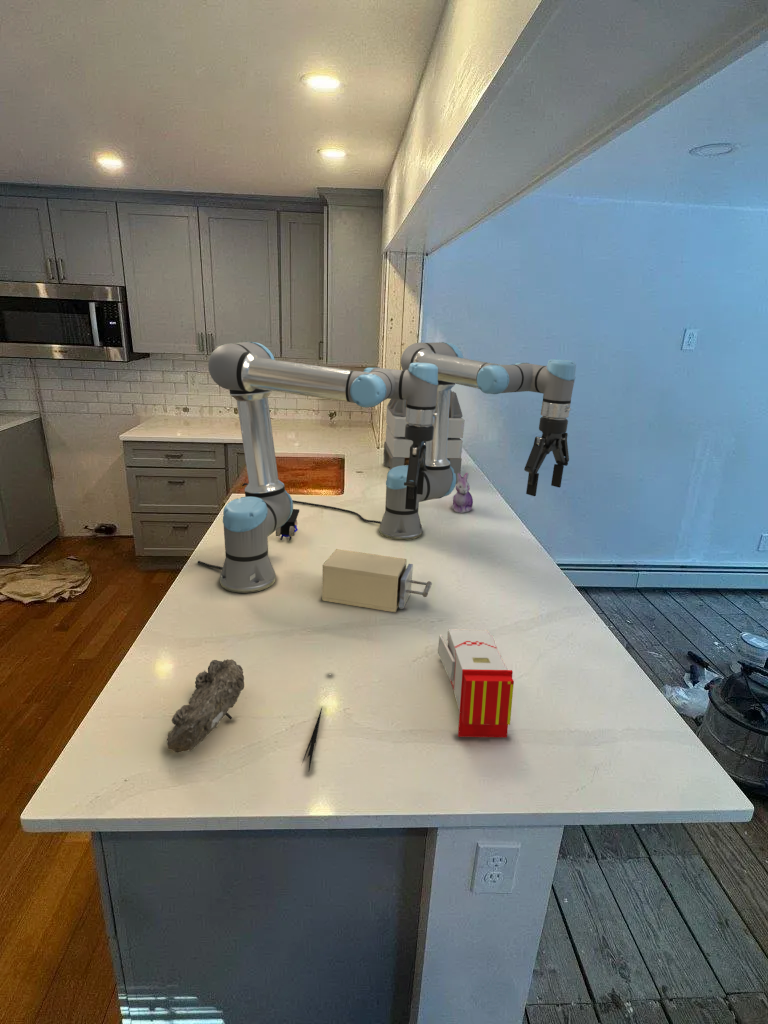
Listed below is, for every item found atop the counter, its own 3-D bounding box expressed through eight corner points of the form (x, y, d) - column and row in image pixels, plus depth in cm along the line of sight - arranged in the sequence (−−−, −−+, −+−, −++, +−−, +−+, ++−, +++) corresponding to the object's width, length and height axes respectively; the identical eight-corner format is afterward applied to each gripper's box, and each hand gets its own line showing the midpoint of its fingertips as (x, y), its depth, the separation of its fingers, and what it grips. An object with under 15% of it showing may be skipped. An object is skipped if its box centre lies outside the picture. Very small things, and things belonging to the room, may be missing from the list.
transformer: (382, 463, 289) (386, 382, 275) (445, 464, 293) (451, 384, 279) (390, 482, 257) (394, 392, 243) (460, 483, 261) (468, 394, 247)
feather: (331, 679, 122) (336, 673, 122) (307, 777, 96) (313, 769, 95) (324, 675, 122) (329, 669, 121) (298, 772, 95) (304, 764, 95)
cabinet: (404, 593, 159) (406, 558, 155) (395, 612, 148) (397, 576, 145) (335, 582, 163) (336, 548, 159) (322, 600, 152) (322, 565, 149)
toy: (488, 613, 130) (523, 677, 101) (484, 667, 133) (517, 744, 104) (435, 612, 130) (455, 676, 101) (432, 666, 133) (451, 743, 103)
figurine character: (295, 547, 188) (300, 526, 202) (294, 527, 185) (300, 506, 198) (274, 546, 188) (281, 525, 201) (273, 526, 185) (280, 506, 198)
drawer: (431, 595, 156) (433, 567, 153) (425, 612, 147) (427, 583, 144) (345, 581, 161) (346, 554, 158) (334, 597, 152) (334, 569, 149)
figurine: (459, 514, 221) (463, 477, 216) (445, 506, 229) (448, 470, 224) (479, 511, 225) (483, 475, 220) (464, 503, 234) (467, 468, 228)
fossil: (192, 660, 117) (244, 628, 112) (224, 691, 120) (276, 661, 115) (142, 746, 98) (202, 712, 93) (182, 779, 101) (242, 748, 96)
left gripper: (428, 435, 136) (421, 517, 143) (439, 417, 159) (433, 489, 166) (397, 432, 137) (392, 514, 144) (412, 415, 160) (408, 486, 167)
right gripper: (542, 424, 146) (531, 502, 153) (588, 415, 163) (576, 486, 170) (517, 419, 151) (508, 495, 158) (564, 411, 168) (554, 480, 175)
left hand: (414, 501), depth 155 cm, fingers open, 13 cm apart
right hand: (543, 490), depth 164 cm, fingers open, 13 cm apart
